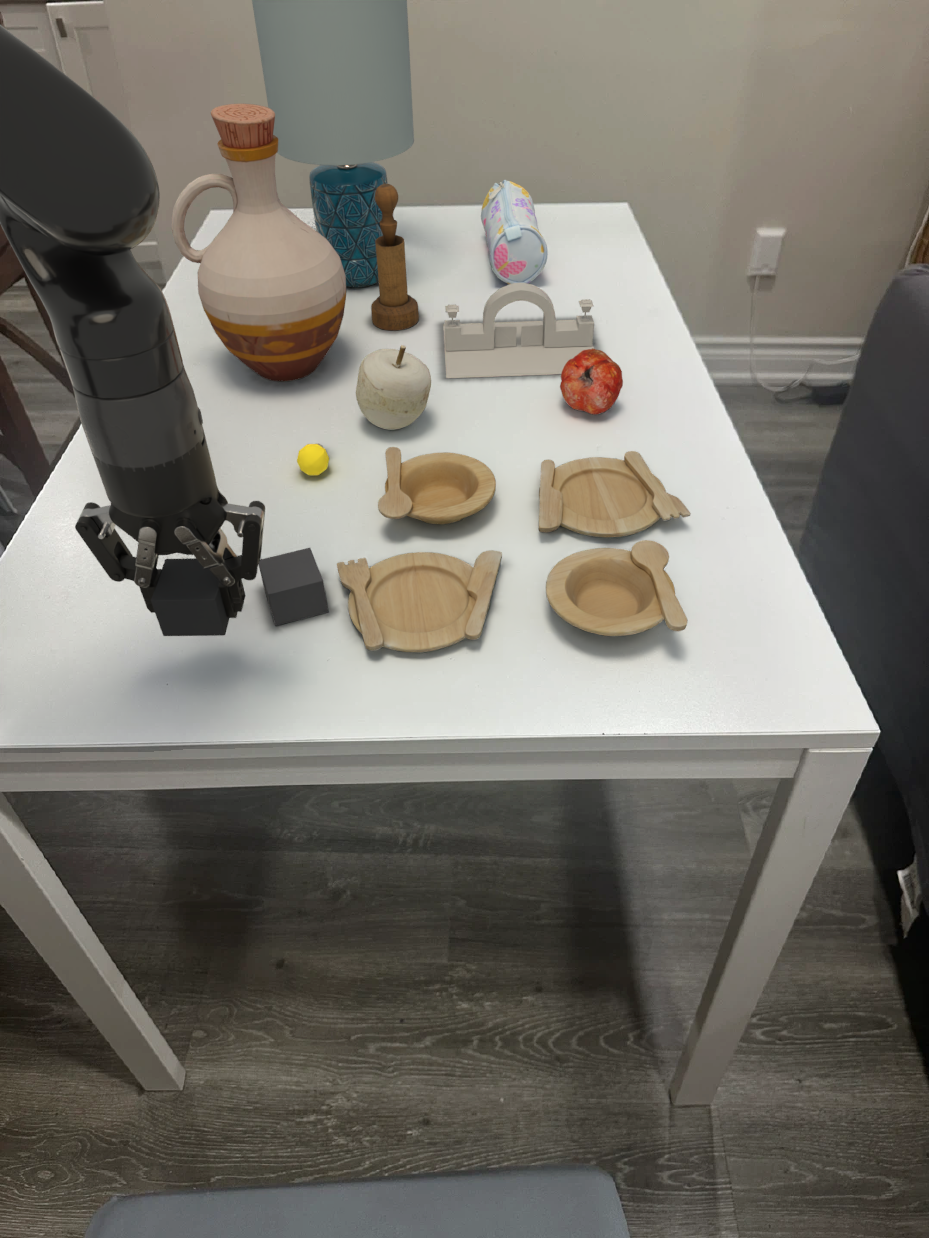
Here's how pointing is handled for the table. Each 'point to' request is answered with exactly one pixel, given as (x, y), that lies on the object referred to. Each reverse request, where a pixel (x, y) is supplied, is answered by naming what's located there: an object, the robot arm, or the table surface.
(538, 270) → the pencil case
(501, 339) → the gateway
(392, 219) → the mortar and pestle
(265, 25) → the lamp
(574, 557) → the tableware set
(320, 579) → the pad right
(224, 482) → the table surface
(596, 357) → the pomegranate
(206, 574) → the pad left
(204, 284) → the jug
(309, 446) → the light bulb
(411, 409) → the decorative object
